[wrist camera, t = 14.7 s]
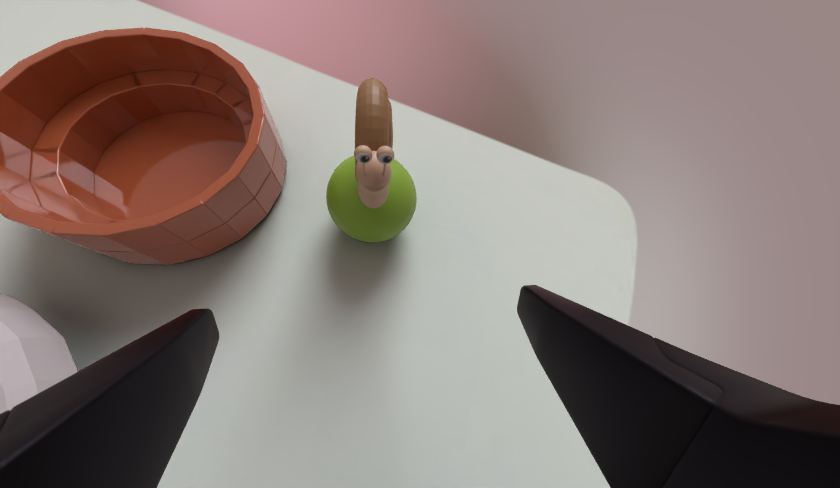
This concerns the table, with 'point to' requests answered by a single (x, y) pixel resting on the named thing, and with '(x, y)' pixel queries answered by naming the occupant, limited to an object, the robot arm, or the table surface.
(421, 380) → the table surface
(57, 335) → the robot toy
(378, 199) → the snail figurine
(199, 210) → the bowl
